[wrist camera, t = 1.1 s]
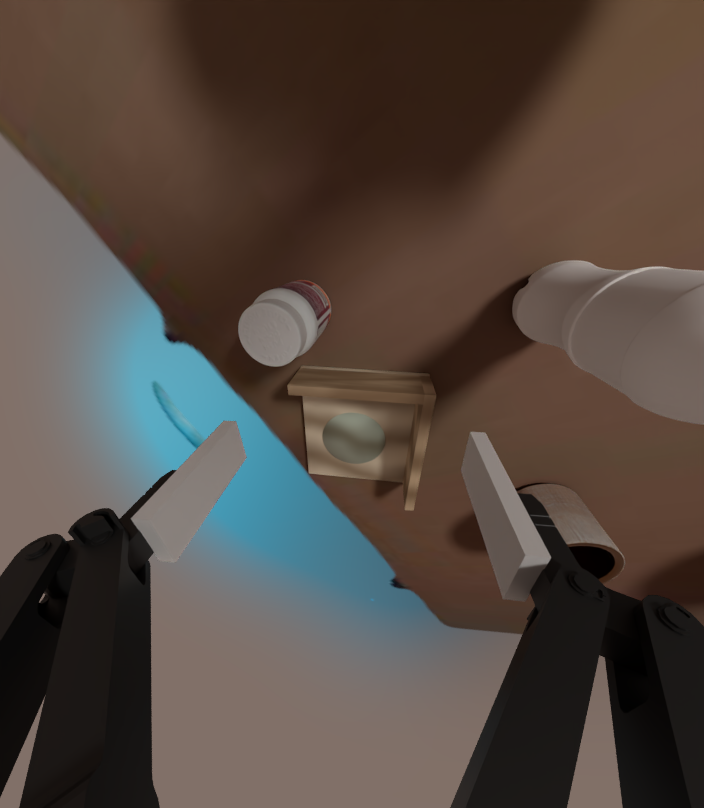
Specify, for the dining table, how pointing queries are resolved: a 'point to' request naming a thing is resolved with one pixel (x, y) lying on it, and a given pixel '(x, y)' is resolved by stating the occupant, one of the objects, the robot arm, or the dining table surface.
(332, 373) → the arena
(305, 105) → the dining table surface
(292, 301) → the pill bottle
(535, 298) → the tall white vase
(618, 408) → the dining table surface
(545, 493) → the planter
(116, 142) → the dining table surface
